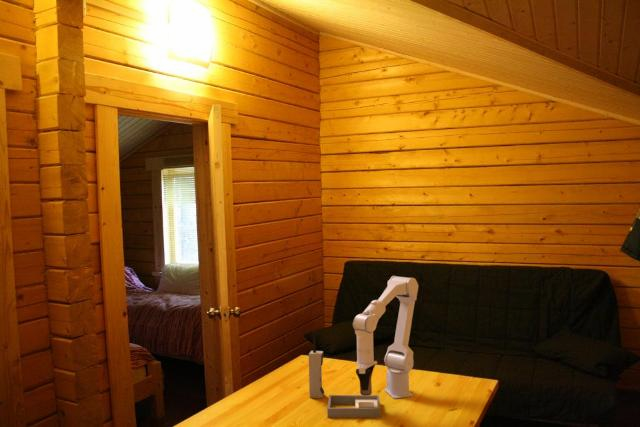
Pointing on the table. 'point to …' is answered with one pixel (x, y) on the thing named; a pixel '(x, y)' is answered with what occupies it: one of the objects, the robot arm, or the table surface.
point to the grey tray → (359, 402)
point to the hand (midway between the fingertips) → (365, 387)
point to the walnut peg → (369, 391)
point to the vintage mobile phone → (315, 372)
